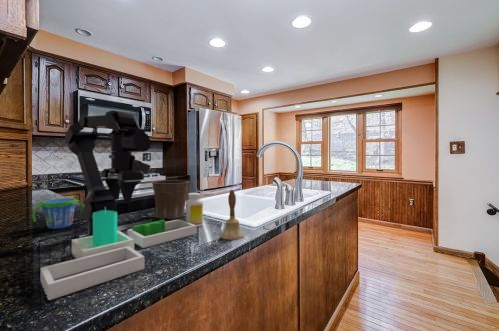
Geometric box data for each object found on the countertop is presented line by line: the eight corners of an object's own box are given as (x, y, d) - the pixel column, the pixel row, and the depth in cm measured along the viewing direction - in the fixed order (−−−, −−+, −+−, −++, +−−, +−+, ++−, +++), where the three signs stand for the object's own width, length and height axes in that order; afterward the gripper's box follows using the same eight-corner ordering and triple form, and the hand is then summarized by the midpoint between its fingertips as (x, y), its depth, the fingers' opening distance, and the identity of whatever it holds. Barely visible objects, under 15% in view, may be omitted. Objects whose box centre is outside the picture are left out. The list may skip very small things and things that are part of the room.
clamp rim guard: (127, 238, 79) (127, 229, 79) (178, 227, 93) (178, 219, 93) (143, 248, 71) (143, 238, 71) (196, 233, 85) (196, 225, 85)
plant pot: (174, 211, 121) (174, 179, 121) (196, 215, 112) (196, 181, 111) (144, 217, 108) (144, 181, 107) (166, 223, 99) (166, 184, 98)
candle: (90, 249, 67) (90, 206, 67) (114, 244, 71) (113, 204, 71) (95, 255, 63) (95, 210, 63) (120, 249, 67) (120, 207, 67)
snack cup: (34, 234, 83) (34, 205, 82) (31, 228, 90) (30, 201, 90) (87, 225, 94) (87, 199, 94) (80, 220, 101) (80, 196, 101)
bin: (71, 254, 66) (71, 239, 66) (118, 243, 75) (118, 230, 75) (83, 267, 58) (83, 251, 58) (134, 253, 67) (134, 239, 67)
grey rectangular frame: (40, 281, 52) (40, 267, 51) (128, 256, 65) (128, 245, 65) (48, 300, 45) (48, 284, 45) (144, 268, 58) (144, 256, 58)
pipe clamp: (138, 242, 76) (138, 228, 76) (132, 240, 79) (132, 226, 79) (169, 233, 85) (169, 221, 85) (163, 231, 88) (163, 219, 87)
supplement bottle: (206, 224, 97) (206, 193, 96) (194, 228, 91) (194, 195, 91) (194, 222, 100) (194, 191, 100) (182, 226, 95) (182, 193, 94)
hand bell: (234, 241, 78) (235, 192, 77) (215, 236, 82) (215, 190, 82) (248, 234, 85) (249, 190, 84) (230, 230, 89) (230, 188, 89)
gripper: (160, 152, 75) (160, 202, 75) (135, 152, 87) (135, 195, 88) (122, 151, 66) (122, 207, 67) (101, 151, 79) (101, 199, 79)
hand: (121, 201), depth 75 cm, fingers open, 9 cm apart
